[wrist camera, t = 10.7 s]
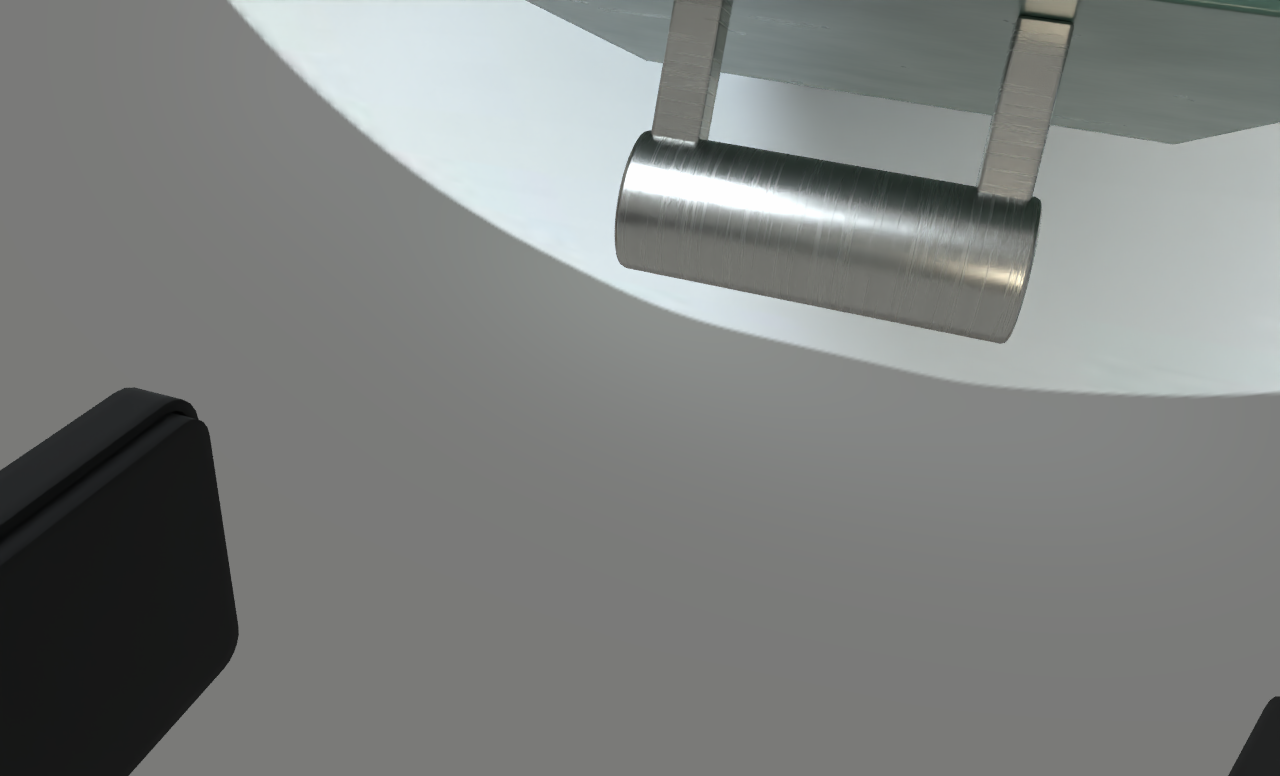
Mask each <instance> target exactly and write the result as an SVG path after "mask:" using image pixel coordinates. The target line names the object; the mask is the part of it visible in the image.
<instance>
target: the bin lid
mask: <svg viewBox="0 0 1280 776" xmlns="http://www.w3.org/2000/svg"><path fill="white" fill-rule="evenodd" d="M526 1H528V2H530V3H532V4H534V5H536V6H538V7H540V8H542V9H544V10H546V11H548V12H550V13H552V14H554V15H556V16H558V17H560V18H562V19H564V20H566V21H568V22H570V23H572V24H574V25H576V26H578V27H580V28H582V29H584V30H586V31H588V32H590V33H592V34H594V35H596V36H598V37H600V38H602V39H604V40H606V41H608V42H610V43H612V44H614V45H616V46H618V47H620V48H622V49H624V50H626V51H628V52H630V53H632V54H634V55H636V56H638V57H640V58H642V59H644V60H646V61H652V62H659V63H663V67H662V73H661V79H660V85H659V91H658V96H657V102H656V108H655V114H654V120H653V126H652V131H646V132H644V133H643V134H641V135H640V137H639V138H638V140H637V141H636V143H635V145H634V147H633V149H632V151H631V153H630V156H629V158H628V161H627V164H626V167H625V170H624V174H623V178H622V181H621V186H620V190H619V196H618V202H617V209H616V218H615V247H616V254H617V258H618V260H619V262H620V264H621V265H623V266H624V267H626V268H629V269H634V270H639V271H644V272H649V273H654V274H659V275H664V276H669V277H674V278H679V279H684V280H689V281H694V282H699V283H704V284H708V285H713V286H718V287H723V288H728V289H733V290H738V291H743V292H748V293H753V294H758V295H763V296H768V297H773V298H778V299H783V300H787V301H792V302H797V303H802V304H807V305H812V306H817V307H822V308H827V309H832V310H837V311H842V312H847V313H852V314H857V315H862V316H867V317H871V318H876V319H881V320H886V321H891V322H896V323H901V324H906V325H911V326H916V327H921V328H926V329H931V330H936V331H941V332H946V333H950V334H955V335H960V336H965V337H970V338H975V339H980V340H985V341H990V342H995V343H1005V342H1006V341H1007V340H1008V338H1009V337H1010V335H1011V334H1012V331H1013V329H1014V327H1015V324H1016V321H1017V319H1018V316H1019V313H1020V310H1021V306H1022V303H1023V300H1024V296H1025V293H1026V289H1027V285H1028V282H1029V278H1030V274H1031V270H1032V265H1033V261H1034V257H1035V252H1036V247H1037V242H1038V237H1039V231H1040V224H1041V215H1042V206H1041V201H1040V199H1038V198H1036V197H1033V196H1032V195H1033V191H1034V187H1035V183H1036V179H1037V175H1038V171H1039V167H1040V163H1041V159H1042V155H1043V151H1044V147H1045V143H1046V138H1047V134H1048V130H1049V126H1050V125H1055V126H1061V127H1067V128H1074V129H1080V130H1086V131H1093V132H1099V133H1105V134H1111V135H1118V136H1124V137H1130V138H1137V139H1143V140H1149V141H1156V142H1162V143H1168V144H1178V143H1183V142H1188V141H1193V140H1197V139H1202V138H1207V137H1212V136H1216V135H1221V134H1226V133H1231V132H1235V131H1240V130H1245V129H1250V128H1255V127H1259V126H1264V125H1269V124H1274V123H1278V122H1280V0H526ZM720 72H722V73H728V74H734V75H740V76H747V77H753V78H759V79H766V80H772V81H778V82H784V83H791V84H797V85H803V86H810V87H816V88H822V89H828V90H835V91H841V92H847V93H854V94H860V95H866V96H872V97H879V98H885V99H891V100H898V101H904V102H910V103H917V104H923V105H929V106H935V107H942V108H948V109H954V110H961V111H967V112H973V113H979V114H986V115H992V119H991V124H990V128H989V132H988V136H987V140H986V145H985V149H984V153H983V157H982V162H981V166H980V170H979V174H978V178H977V183H976V187H975V186H969V185H963V184H958V183H952V182H946V181H940V180H934V179H929V178H923V177H917V176H911V175H906V174H900V173H894V172H888V171H882V170H877V169H871V168H865V167H859V166H854V165H848V164H842V163H836V162H831V161H825V160H819V159H813V158H807V157H802V156H796V155H790V154H784V153H779V152H773V151H767V150H761V149H755V148H750V147H744V146H738V145H732V144H727V143H721V142H715V141H709V140H708V136H709V131H710V125H711V120H712V114H713V109H714V103H715V98H716V92H717V87H718V81H719V76H720Z"/></svg>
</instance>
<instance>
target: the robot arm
mask: <svg viewBox="0 0 1280 776" xmlns="http://www.w3.org/2000/svg"><path fill="white" fill-rule="evenodd" d="M238 635H239V634H238V621H237V615H236V608H235V601H234V595H233V588H232V582H231V575H230V568H229V562H228V555H227V549H226V542H225V535H224V528H223V522H222V515H221V509H220V501H219V495H218V488H217V482H216V475H215V469H214V461H213V456H212V448H211V442H210V435H209V432H208V428H207V426H206V425H205V424H204V422H202V421H200V420H198V417H197V413H196V410H195V409H194V408H193V407H192V405H191V404H190V403H188V402H186V401H184V400H182V399H177V398H173V397H170V396H165V395H161V394H158V393H154V392H149V391H146V390H142V389H138V388H124V389H122V390H120V391H117V392H116V393H114V394H112V395H111V396H109V397H108V398H106V399H105V400H103V401H102V402H101V403H99V404H98V405H96V406H95V407H93V408H92V409H90V410H89V411H87V412H86V413H84V414H83V415H81V416H80V417H78V418H77V419H75V420H74V421H73V422H71V423H70V424H68V425H67V426H65V427H64V428H62V429H61V430H60V431H58V432H56V433H55V434H53V435H52V436H51V437H49V438H48V439H46V440H45V441H43V442H42V443H40V444H39V445H37V446H36V447H34V448H33V449H31V450H30V451H28V452H27V453H26V454H24V455H23V456H21V457H20V458H19V459H17V460H15V461H14V462H12V463H11V464H9V465H8V466H7V467H5V468H3V469H2V470H1V471H0V776H129V775H130V773H131V772H132V771H133V770H134V769H135V768H136V767H137V765H138V764H139V763H140V762H141V761H142V760H143V759H144V758H145V757H146V755H147V754H148V753H149V752H150V751H151V750H152V749H153V748H154V746H155V745H156V744H157V743H158V742H159V741H160V740H161V739H162V737H163V736H164V735H165V734H166V733H167V732H168V731H169V729H171V727H172V726H173V725H174V724H175V723H176V722H177V721H178V720H179V718H180V717H181V716H182V715H183V714H184V713H185V712H186V711H187V709H188V708H189V707H190V706H191V705H192V704H193V703H194V702H195V700H196V699H197V698H198V697H199V696H200V695H201V694H202V693H203V691H204V690H205V689H206V688H207V687H208V686H209V685H210V683H211V682H212V681H213V680H214V679H215V678H216V677H217V676H218V675H219V674H220V672H221V671H222V670H223V669H224V668H225V666H226V665H227V663H228V662H229V661H230V659H231V657H232V655H233V653H234V650H235V647H236V645H237V640H238ZM1228 776H1280V697H1274V698H1273V699H1271V700H1270V701H1269V702H1268V704H1267V705H1266V707H1265V708H1264V710H1263V712H1262V714H1261V716H1260V718H1259V719H1258V721H1257V723H1256V725H1255V727H1254V729H1253V731H1252V733H1251V735H1250V736H1249V738H1248V740H1247V742H1246V744H1245V746H1244V747H1243V749H1242V751H1241V753H1240V755H1239V757H1238V759H1237V760H1236V762H1235V764H1234V766H1233V768H1232V770H1231V772H1230V774H1229V775H1228Z"/></svg>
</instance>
